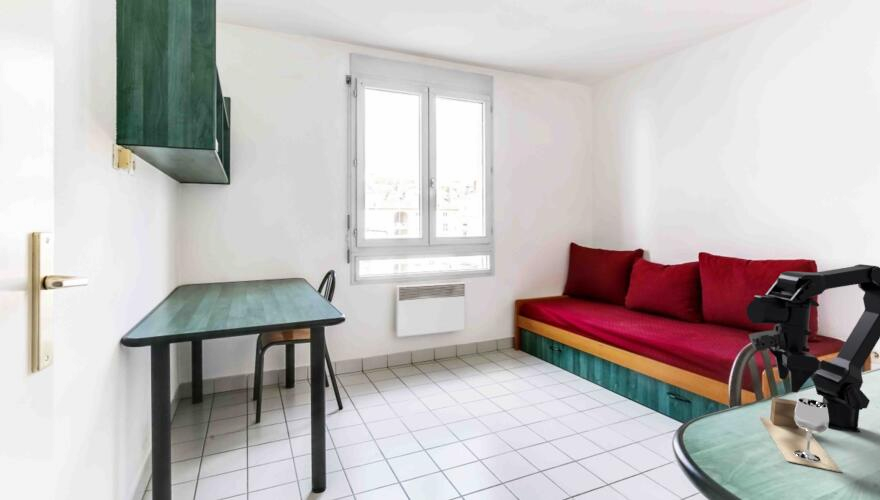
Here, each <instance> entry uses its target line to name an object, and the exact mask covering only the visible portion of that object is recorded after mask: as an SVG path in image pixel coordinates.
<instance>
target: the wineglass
mask: <svg viewBox="0 0 880 500" xmlns="http://www.w3.org/2000/svg"><path fill="white" fill-rule="evenodd" d="M794 421H795V423H796V424H797V425H798V426H799V427H800V428H801V429H803V430H805V431H807V432H808V433H807V434H806V438H807V448H806V450H805V451H801V450H796V451H794V454H795V455H796V456H798V457H799V458H801V459H804V460H807V461H811V462H820V461H821V459H820V458H819V457H818V456H816V455H814V454H812V453H810V451H809V447H810V441H811V439H812V436H813V434H820V433H823V432H825V431H827V430H828V428H829V427H828V425H829V413H828V409H827V405H825V404H824V403H822V401H819V400H815V399H811V398H798V400H797V404H796V407H795V410H794Z"/></svg>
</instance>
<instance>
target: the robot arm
mask: <svg viewBox="0 0 880 500" xmlns="http://www.w3.org/2000/svg"><path fill="white" fill-rule="evenodd" d="M854 285H858V288H859V289H860V290H862V291H863V292H864V294H863V297H862V300H863V306H864V310H863V312H862V313H861V315H860V317H859V319H858V321H857V322H856V324H855V325H854V327H853V328H852V330H851V332H850V333H849V336H848V337H847V339H846V341H845V342H844V344H843V346H842V347H841V349H840V350H839V352H838V354H837V355H836V357H835V358H833V359H830V360H829V361H828V360H825V359H822V360H820V359H819V358H817V357H816V356H815V355H814V354H812V353H811V352H810V347H809V346H808V338H809V337H808V336H812V331H811V330H810V329H809V324H810V316H811V315H810V313H811V307H813V308H815V307H819V306H820V304H819V303H818V302H817V301H816V300H815V299H814V298H813V297H816V296H820V295H823V293H824V292H825V291H826V290H830V289H837V288H842V287H843V288H844V287H848V286H849V287H850V286H854ZM745 312H746V316H747V319H748V320H749V321H750V322H751V323H753V324H754V325H755V324H756V325H758V324H759V325H763V324H764V325H767V324H769V325H773V324H775V325H774V327H773V329H772V330H764V331H758V332H753V333H750V334H748V336H749V339H750V343H751V346H752V347H753V348H754V349H755V351H763V350H766V349H767V350H768V351H769V352H770V353H771V354H772V355H773V357H774V359H775V363H776V368H777V372H778V377H779V379H780V380H786V379H787V376H789V384H790V391H791V392H792V393H798V392H799V391H800V390H801V388H803V386H804V385H805V383H807V381H808V380H809V379H810V378H811V377H812V376H813V377H812V381H813V384H814V388H815V392H816V395H818V396H821V397H822V401H821V402H822V403H824V404H825V405H827V409H828V413H829V425H828V428H832V429H837V430H844V431H850V432H855V433H862V430H861V429H860V428H859V427H858V426H859V418H860V410H863V409H868V406H869V405H870V401H871V400H870V399H869V398H868V396H866V394H865V393H864V392H863V391H862V390H861V389H862V385H863V383H864V381H863V374H862V369H863V367H864V365H865V363H866V361H867V360H868V358H869V357H870V355H871V353H872V352H873V350H874V348H875V347H876V345H877V344H878V342H879V340H880V266H878V265H870V264H862V263H861V264H856V265H853V266H847V267H841V268H834V269H828V270H823V271H817V272H816V271H815V272H807V271H784V272H782V273H780V274H779V276H778V278H777V279H776V280H775V282H774V283H773V284H772V286H771V287H770V288H769V289H768V291H767V292H766V293H765V295H758V294H757V295H754V298H753V300H751V301H750V302H749V303H748V304H747V306H746V309H745Z"/></svg>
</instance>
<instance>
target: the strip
mask: <svg viewBox="0 0 880 500" xmlns="http://www.w3.org/2000/svg"><path fill="white" fill-rule="evenodd" d="M797 402H798V400H792V399H787V398H780V397H773V396H772V397H771V406H770V417H769V418H765V417H761V416H759V419H760V421H761V422H762V424H763V425H764V427H765V428H766V430H767V431H768V433H769V435H770V437H771V438H772V440H773V441H774V442H775V445H776V446H777V447H778V449H779V451H780V452H781V454H782V456H783V457H784V459H785V460H786V461H787V462H788V463H794V464H798V465H803V466H809V467H813V468H818V469H823V470H828V471H831V472H837V473H842V472H843V471H842V470H841V469H840V468H839V467H838V465H837V464H836V462H834V460H833V459H832V457H831V456H830V455H829V454H828V453H827V452H826V450H825V449H824V447H822V445H820V443H819V442H818V441H817V440H816V438H815V437H814V436H813V435H812V439H811V441H810V447H809V451H810V453H812V454H814V455H816V456H818V457H819V458H820V459H821V461H820V462H811V461H807V460H804V459H801V458H799V457H798V456H796V455H795V454H794V451H796V450H801V451H805V450H806V448H807V438H806V434H807V433H808V432H807V431H805V430H803V429H801V428H800V427H799V426H798V425H797V424H796V423H795V421H794V410H795V407H796V404H797Z"/></svg>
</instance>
